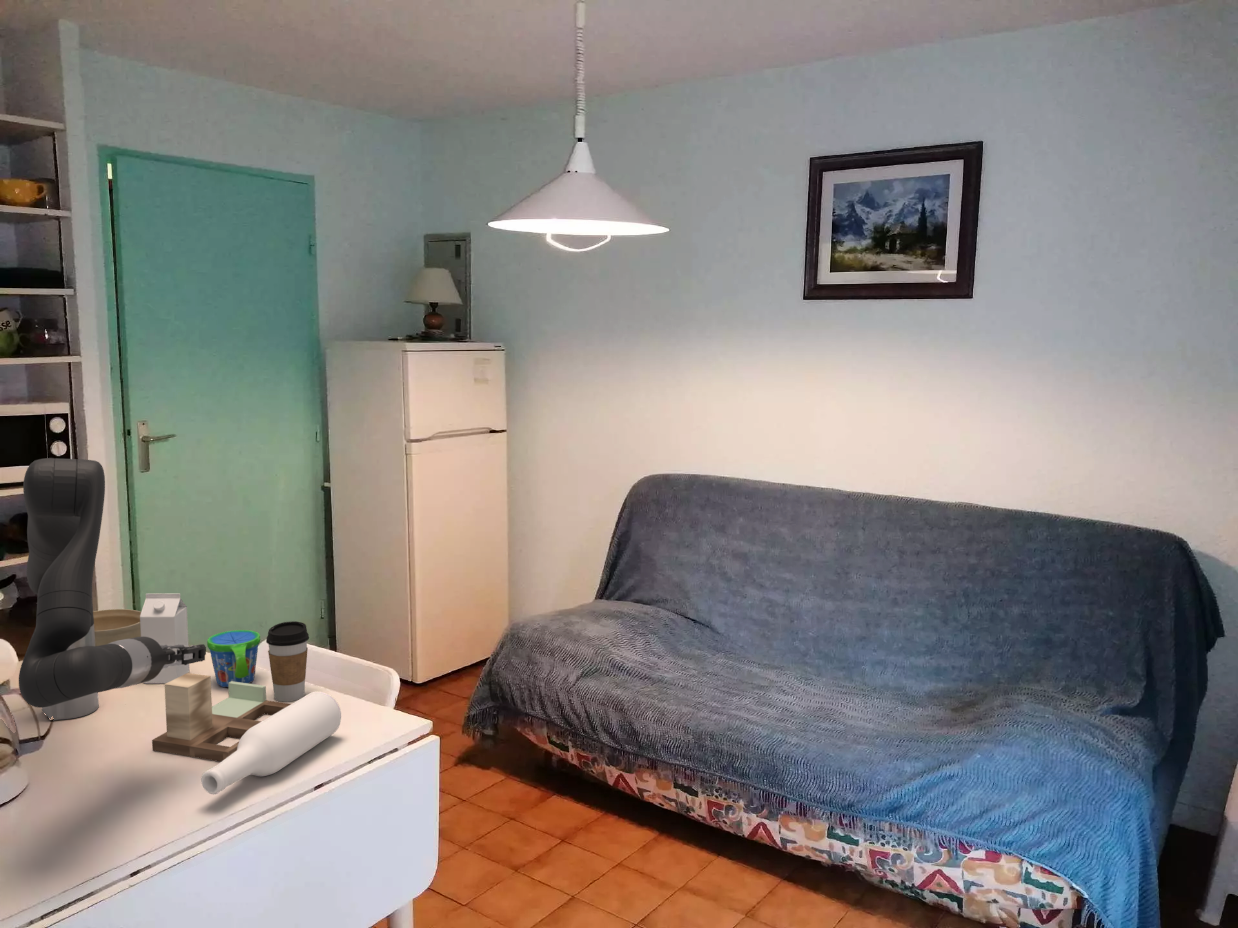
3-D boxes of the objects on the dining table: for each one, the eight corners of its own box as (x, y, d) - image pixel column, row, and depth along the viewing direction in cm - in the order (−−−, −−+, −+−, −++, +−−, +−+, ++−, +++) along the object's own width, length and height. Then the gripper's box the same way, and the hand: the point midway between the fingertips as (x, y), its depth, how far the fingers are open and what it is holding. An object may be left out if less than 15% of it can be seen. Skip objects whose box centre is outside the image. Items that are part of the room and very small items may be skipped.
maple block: (190, 740, 170) (187, 687, 168) (166, 736, 171) (164, 684, 169) (212, 726, 175) (210, 675, 174) (190, 723, 177) (187, 672, 175)
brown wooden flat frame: (228, 762, 165) (227, 752, 165) (152, 750, 170) (152, 739, 169) (301, 714, 186) (301, 705, 186) (232, 704, 191) (232, 695, 190)
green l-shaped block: (237, 727, 180) (236, 702, 179) (202, 721, 182) (201, 697, 181) (266, 709, 189) (265, 685, 188) (232, 704, 191) (231, 681, 190)
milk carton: (156, 672, 207) (152, 588, 204) (189, 671, 208) (186, 588, 205) (143, 684, 200) (138, 598, 197) (177, 683, 201) (173, 598, 198)
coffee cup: (317, 689, 199) (315, 621, 197) (299, 705, 191) (298, 634, 189) (279, 687, 200) (277, 619, 198) (260, 702, 192) (258, 632, 190)
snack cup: (207, 673, 207) (205, 628, 206) (258, 666, 212) (256, 623, 210) (210, 698, 193) (208, 651, 192) (265, 691, 198) (263, 645, 196)
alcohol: (301, 688, 178) (184, 754, 150) (341, 690, 176) (229, 758, 147) (306, 732, 179) (191, 807, 151) (345, 735, 177) (236, 811, 148)
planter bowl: (91, 684, 199) (88, 635, 198) (52, 668, 208) (49, 621, 206) (163, 663, 213) (160, 617, 211) (123, 648, 221) (121, 604, 220)
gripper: (170, 637, 151) (218, 628, 167) (84, 640, 151) (140, 630, 167) (170, 684, 150) (218, 671, 166) (84, 687, 151) (140, 673, 167)
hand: (179, 650), depth 167 cm, fingers open, 8 cm apart
